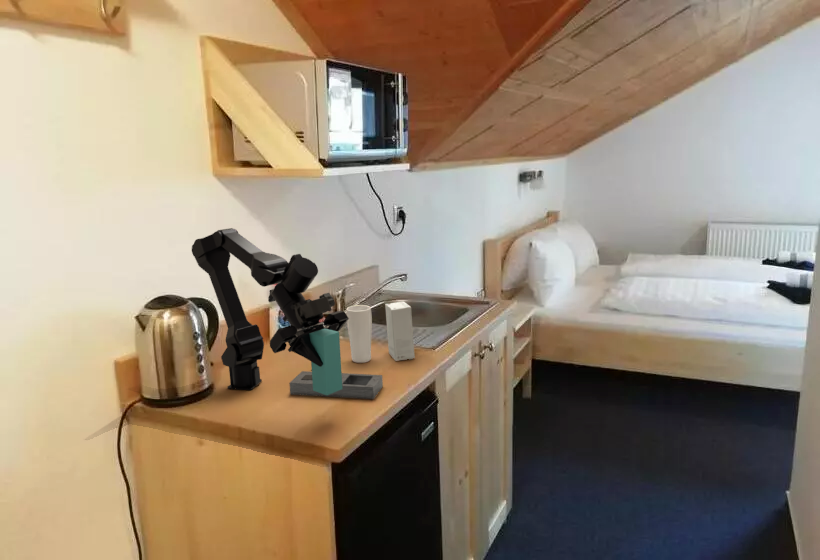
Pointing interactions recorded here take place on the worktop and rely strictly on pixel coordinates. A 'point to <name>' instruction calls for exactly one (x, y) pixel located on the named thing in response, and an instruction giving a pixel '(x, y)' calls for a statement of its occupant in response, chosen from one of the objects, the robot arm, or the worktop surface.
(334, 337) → the teal peg
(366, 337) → the drinking glass
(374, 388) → the grey peg board
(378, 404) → the worktop surface
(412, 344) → the skincare box
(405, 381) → the worktop surface
